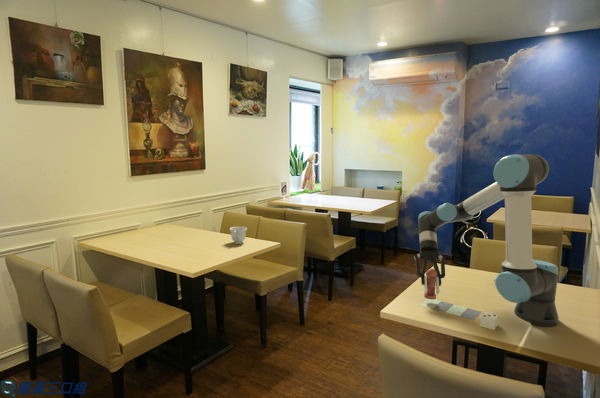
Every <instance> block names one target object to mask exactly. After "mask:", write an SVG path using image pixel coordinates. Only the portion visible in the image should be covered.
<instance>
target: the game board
mask: <svg viewBox="0 0 600 398" xmlns="http://www.w3.org/2000/svg"><path fill="white" fill-rule="evenodd" d="M419 306H421V307H425V308H428V309H432V310H436V311H438V312H442V313H446V314H450V315H453V316H458V317H460V318H464V319H467V320H472V321H475V320H476V319H477V318H478V317H479V316H480V315H481V314H482V311H480V310H477V309H474V308H473V309H472V308H468V307H466V306H461V305H458V304H453V303H450V302H445V301H443V300H439V299H427V298H425V300H424V301H422V303H420V304H419Z"/></svg>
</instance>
